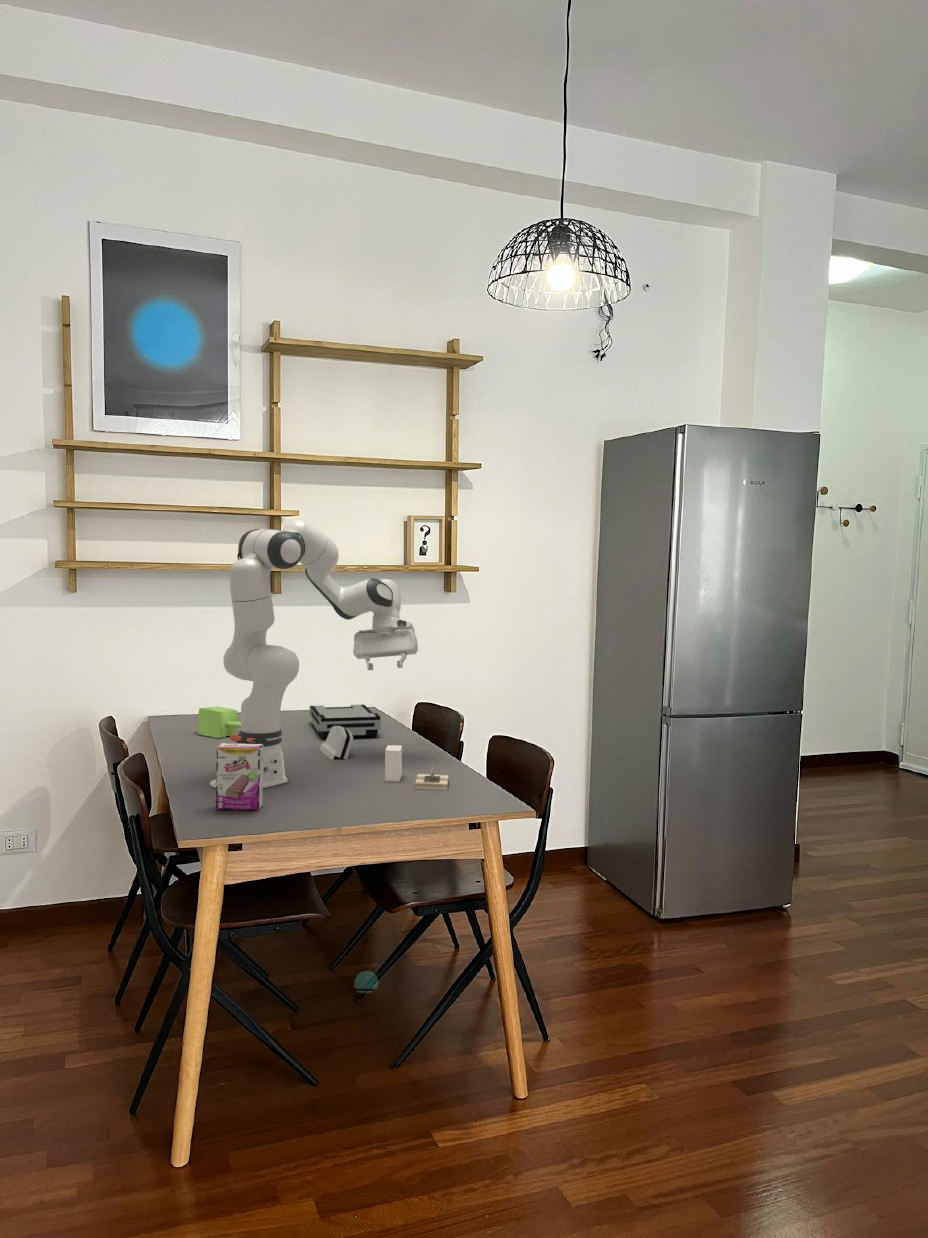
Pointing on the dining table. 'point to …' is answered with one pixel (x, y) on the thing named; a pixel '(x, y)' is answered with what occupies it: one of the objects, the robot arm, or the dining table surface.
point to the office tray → (345, 720)
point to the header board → (431, 781)
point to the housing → (393, 763)
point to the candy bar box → (239, 776)
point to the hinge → (337, 743)
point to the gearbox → (217, 722)
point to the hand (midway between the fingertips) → (384, 668)
